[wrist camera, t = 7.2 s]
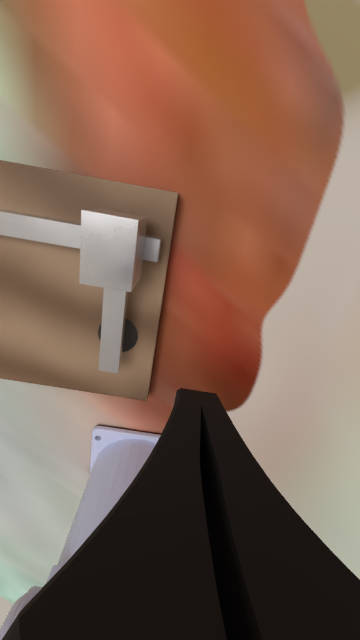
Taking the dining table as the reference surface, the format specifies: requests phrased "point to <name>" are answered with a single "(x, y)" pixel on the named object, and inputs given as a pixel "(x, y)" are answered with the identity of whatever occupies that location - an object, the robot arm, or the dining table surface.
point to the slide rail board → (75, 286)
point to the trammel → (97, 260)
